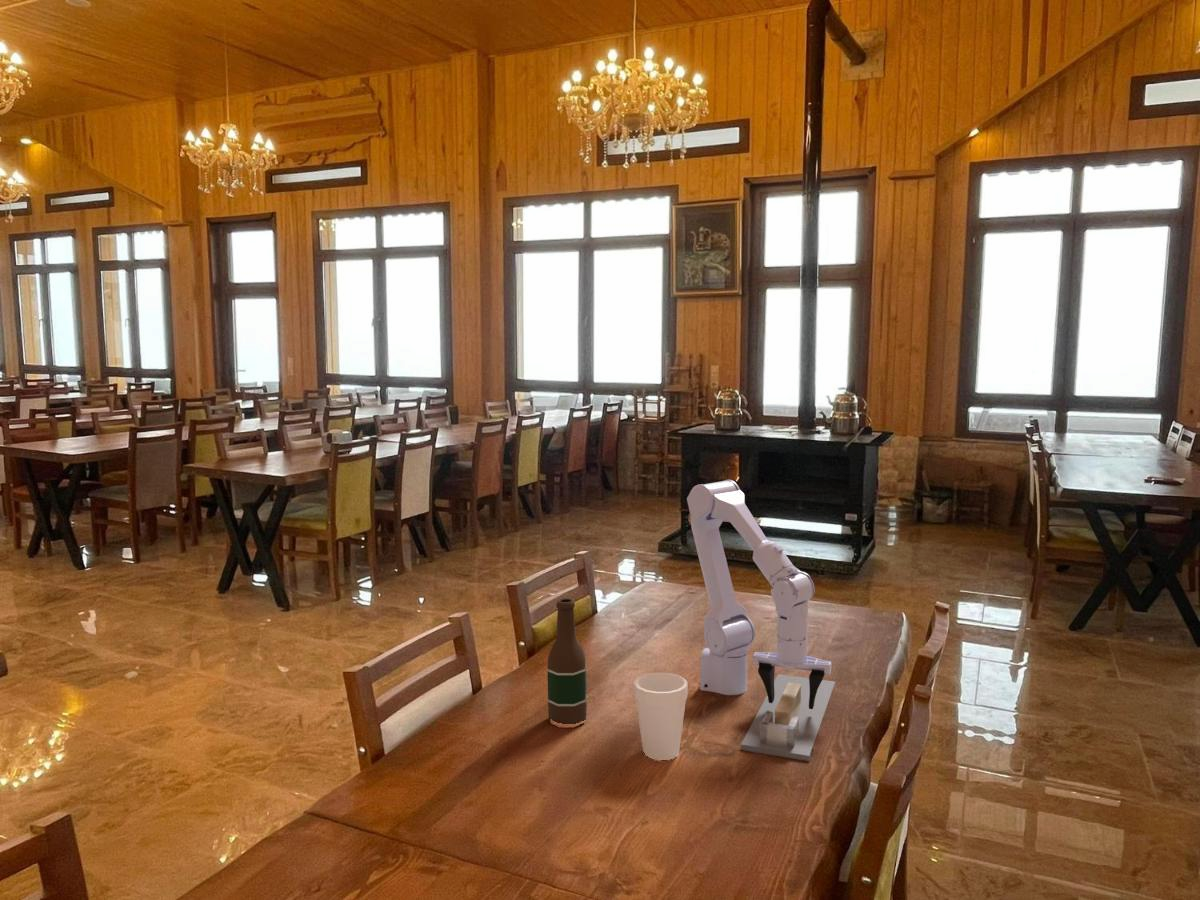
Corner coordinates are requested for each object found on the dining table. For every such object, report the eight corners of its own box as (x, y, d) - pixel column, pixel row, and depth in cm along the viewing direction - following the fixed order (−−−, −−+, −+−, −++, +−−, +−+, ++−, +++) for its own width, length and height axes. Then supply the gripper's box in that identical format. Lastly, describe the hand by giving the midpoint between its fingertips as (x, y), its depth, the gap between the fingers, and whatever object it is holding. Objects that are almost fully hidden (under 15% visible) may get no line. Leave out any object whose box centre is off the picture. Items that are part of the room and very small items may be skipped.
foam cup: (651, 770, 145) (651, 697, 144) (625, 747, 154) (624, 678, 152) (698, 757, 150) (697, 686, 148) (669, 736, 158) (669, 668, 156)
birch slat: (774, 734, 156) (774, 710, 155) (788, 704, 169) (788, 682, 168) (788, 736, 155) (788, 712, 154) (800, 706, 168) (801, 684, 167)
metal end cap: (760, 742, 153) (760, 724, 152) (766, 729, 158) (766, 711, 157) (793, 748, 150) (793, 729, 150) (798, 734, 156) (799, 716, 155)
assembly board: (740, 749, 152) (741, 744, 152) (778, 678, 184) (778, 674, 184) (809, 761, 148) (809, 755, 148) (835, 686, 180) (835, 681, 180)
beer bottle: (594, 715, 167) (592, 597, 164) (576, 732, 160) (574, 608, 157) (559, 709, 170) (556, 592, 167) (540, 725, 163) (537, 603, 160)
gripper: (750, 638, 162) (749, 706, 164) (828, 647, 157) (826, 718, 158) (757, 626, 169) (757, 692, 170) (833, 635, 163) (831, 703, 165)
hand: (791, 704), depth 165 cm, fingers open, 7 cm apart
